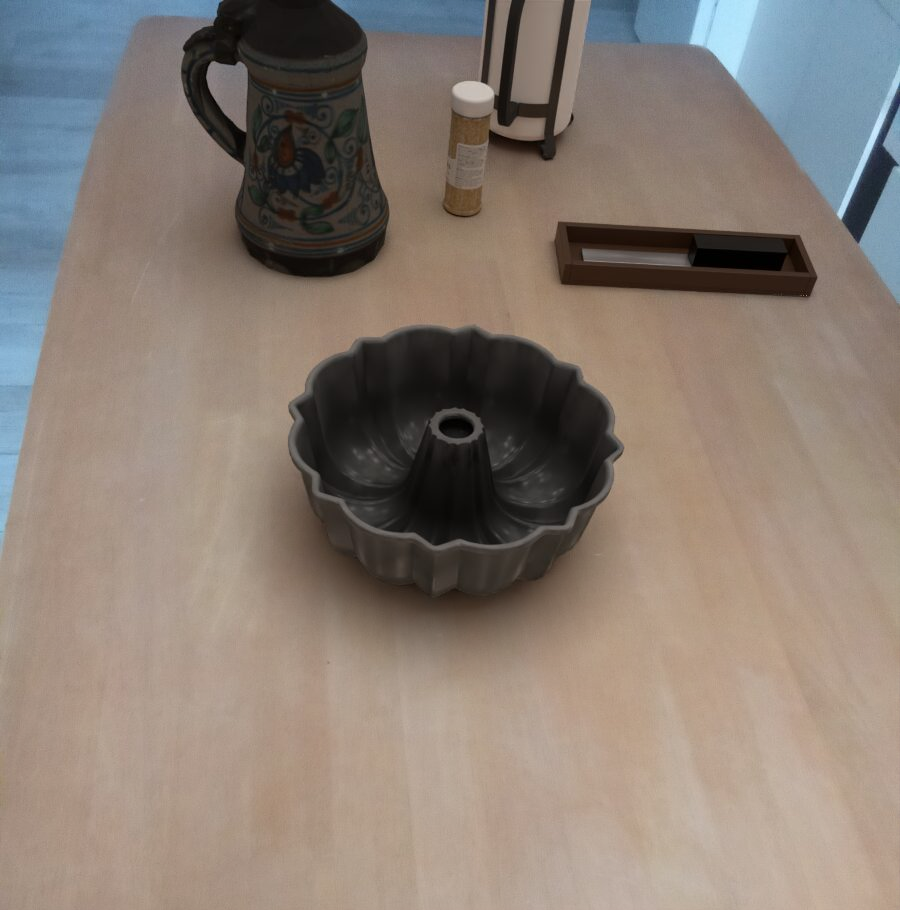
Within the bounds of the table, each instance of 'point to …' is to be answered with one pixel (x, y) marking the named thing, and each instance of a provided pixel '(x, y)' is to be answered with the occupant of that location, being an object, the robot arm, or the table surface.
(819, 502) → the table surface
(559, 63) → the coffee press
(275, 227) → the beer stein
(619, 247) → the cutlery tray
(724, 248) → the knife
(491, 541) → the bundt pan
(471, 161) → the sprinkles bottle
